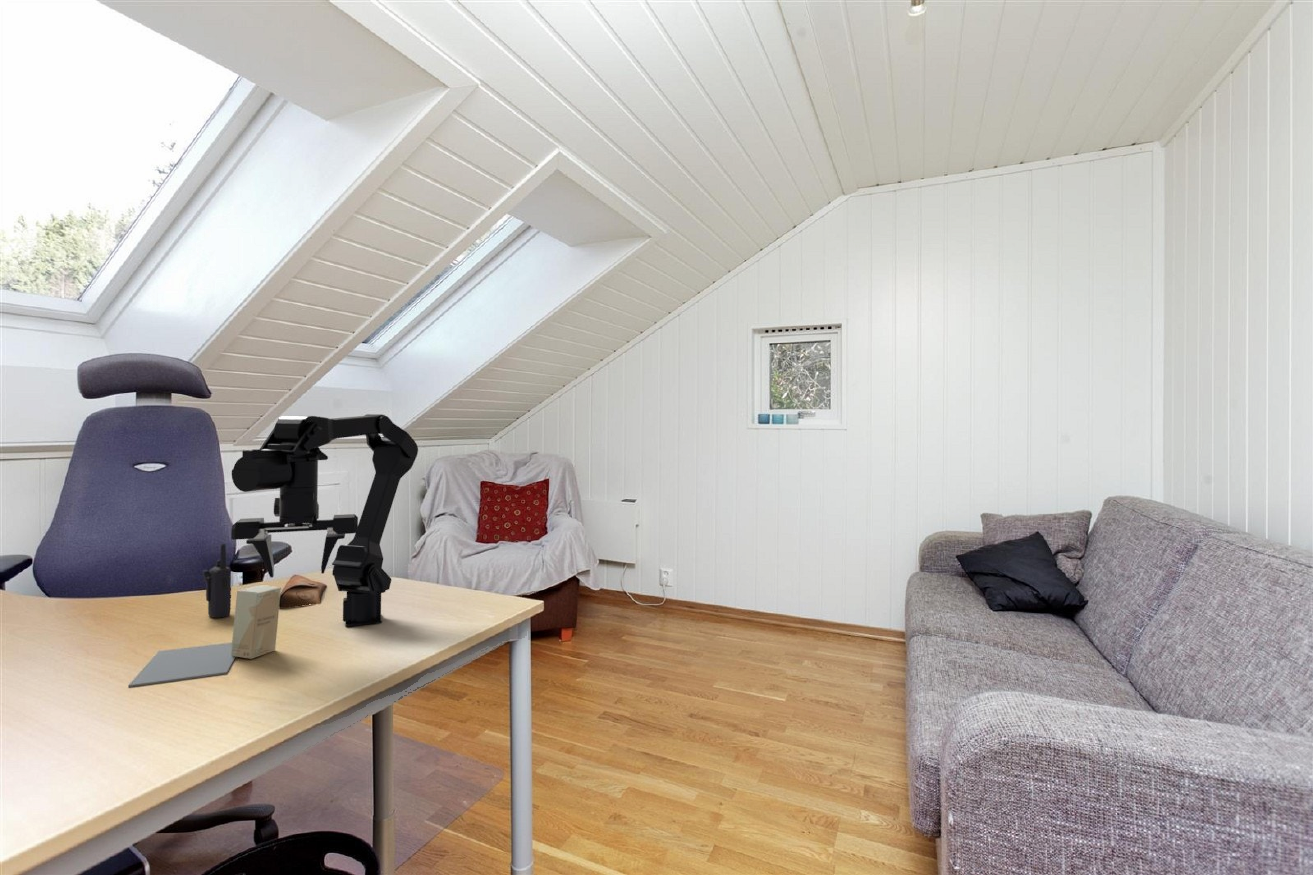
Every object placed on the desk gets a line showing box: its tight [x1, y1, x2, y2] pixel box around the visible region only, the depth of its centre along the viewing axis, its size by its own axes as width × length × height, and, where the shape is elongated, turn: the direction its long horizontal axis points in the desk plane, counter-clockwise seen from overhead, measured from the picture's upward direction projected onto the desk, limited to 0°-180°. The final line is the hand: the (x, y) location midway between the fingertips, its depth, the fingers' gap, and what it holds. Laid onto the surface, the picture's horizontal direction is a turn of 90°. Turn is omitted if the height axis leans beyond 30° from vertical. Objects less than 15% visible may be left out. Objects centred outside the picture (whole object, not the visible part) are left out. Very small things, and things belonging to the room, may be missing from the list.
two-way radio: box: [202, 543, 232, 619], centre depth 121 cm, size 6×4×15 cm
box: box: [231, 584, 282, 659], centre depth 101 cm, size 5×4×11 cm
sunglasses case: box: [279, 574, 327, 610], centre depth 136 cm, size 18×7×7 cm, turn 26°
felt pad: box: [127, 641, 237, 688], centre depth 97 cm, size 12×15×1 cm
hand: (297, 575), depth 104 cm, fingers open, 7 cm apart
